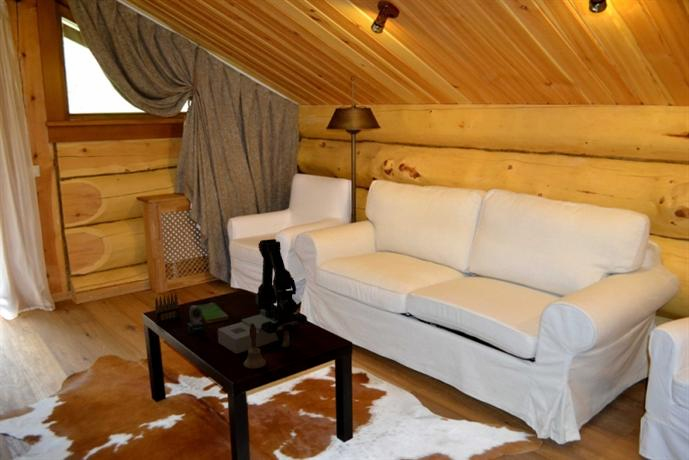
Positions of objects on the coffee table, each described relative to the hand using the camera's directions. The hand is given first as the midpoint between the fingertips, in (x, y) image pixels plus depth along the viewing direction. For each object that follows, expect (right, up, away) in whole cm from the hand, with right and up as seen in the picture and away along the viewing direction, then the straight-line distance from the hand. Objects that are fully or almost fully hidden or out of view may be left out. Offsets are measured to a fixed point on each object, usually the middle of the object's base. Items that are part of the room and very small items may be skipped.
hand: (285, 342), depth 231 cm
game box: (-38, +6, +34) cm, 51 cm away
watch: (-40, +2, +16) cm, 43 cm away
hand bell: (-10, -5, -16) cm, 19 cm away
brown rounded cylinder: (0, -1, 0) cm, 1 cm away
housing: (-15, 0, +5) cm, 15 cm away
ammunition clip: (-55, +4, +27) cm, 62 cm away
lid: (-11, +7, +7) cm, 14 cm away
